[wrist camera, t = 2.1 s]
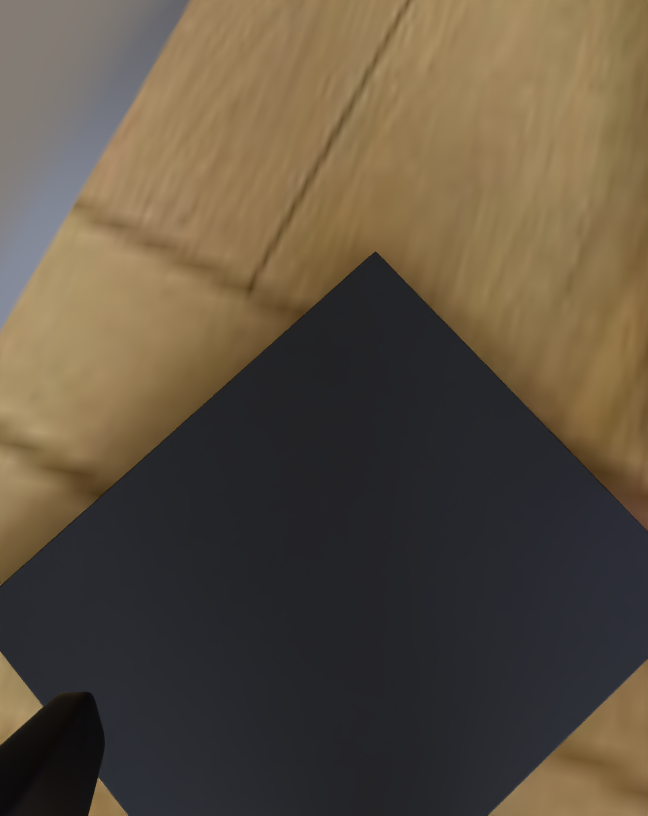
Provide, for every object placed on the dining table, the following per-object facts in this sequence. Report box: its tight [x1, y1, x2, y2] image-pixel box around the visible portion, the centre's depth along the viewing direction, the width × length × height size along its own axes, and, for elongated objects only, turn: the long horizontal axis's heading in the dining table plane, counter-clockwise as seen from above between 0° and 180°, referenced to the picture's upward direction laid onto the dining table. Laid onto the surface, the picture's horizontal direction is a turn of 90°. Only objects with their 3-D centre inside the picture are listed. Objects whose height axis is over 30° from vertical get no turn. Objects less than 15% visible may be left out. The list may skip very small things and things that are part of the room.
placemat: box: [0, 252, 648, 816], centre depth 21 cm, size 18×21×1 cm
